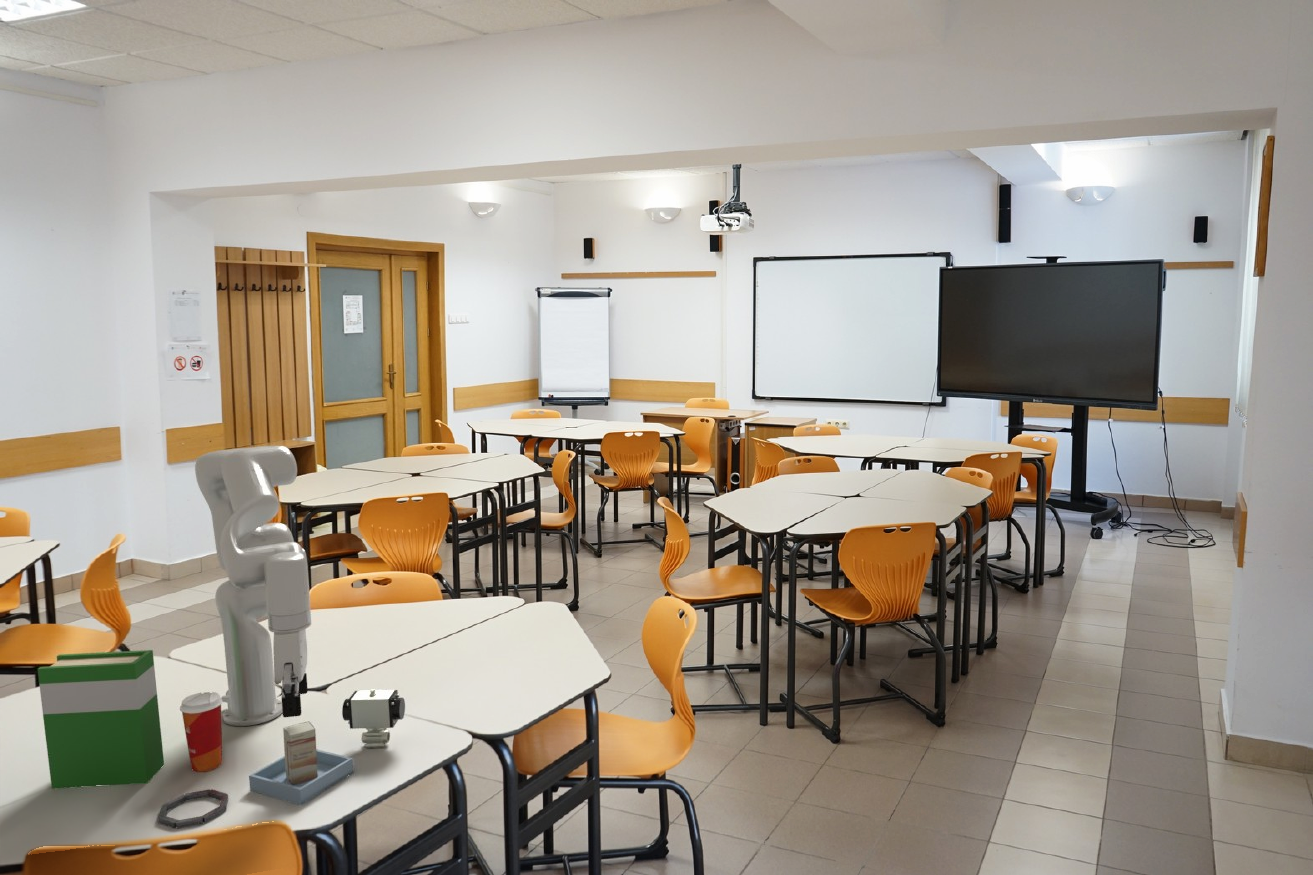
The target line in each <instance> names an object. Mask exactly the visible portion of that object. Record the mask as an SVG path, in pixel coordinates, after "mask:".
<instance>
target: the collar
mask: <svg viewBox="0 0 1313 875" xmlns="http://www.w3.org/2000/svg"><path fill="white" fill-rule="evenodd" d="M204 798H211V799H214V800H218V801H219V802H220V803H219V806H217V807H215V808H213V809H211V810H210V811H208V812H206V813H205V814H203V815H201V816H199V815H198V816H194V817H189V818H182V819H176V818H173V817H170V816H167V815H168V813H169V811H170V810H172V809H174V808H176V807H177V806H179V805H181V804H183V803H185V802H189V801H194V800H199V799H204ZM228 803H229V794H228V793H226V792H222V791H220V790H217V789H210V788H209V789H203V790H197V791H192V792H191V791H190V792H186V793H183V794H180V795H179V796H177V797H175V798H172V799H171V800H170V801H168V802H166V803H164V804H162V805H161V807H160V811H159V814H158V816H157V821H158V822H157V823H158V824H159V825H164V826H165V827H169V828H173V829H181V828H187V827H192V826H199V825H203V824H206V823H208V822H209V821H212V820H213V819H215V818H217V817H218V816H220V815H222V814H224V813H225V812H226V811H227V808H228Z"/></svg>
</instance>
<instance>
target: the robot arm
mask: <svg viewBox="0 0 1313 875" xmlns="http://www.w3.org/2000/svg"><path fill="white" fill-rule="evenodd" d="M194 464H195V465H194V472H195V478H196V482H197V486H198V488H199V490H200V492H201V494H202V496H203V498H204V500H205V502H206V504H207V505H208V509H209V511H210V512H211V513H210V515H211V520H212V527H213V528H212V529H213V536H214V541H215V542H214V544H215V551H216V556H217V560H218V564H219V566H220V567H221V569H222V570H224V571H225V572H226V575H227V578H228V580H226V581H224V582H223V583H221V584H220V585H219V586H218V587H217V589H216V591H215V604H216V608H217V613H218V616H219V619H220V624H221V629H222V636H223V645H224V657H225V663H226V664H225V665H226V668H225V669H226V679H227V690H226V692H225V695H222V696H221V697H220V698H221V699H222V700H223V702H222V703H227V709H226V710H225V711H224V712H223V714H222V718H223V719H222V720H223V722H224V723H225V724H227V725H230V726H235V727H236V726H237V727H243V726H244V727H248V726H255V725H258V724H264V723H266V722H268V721H271V720H273V719H276V718H277V717H279V716H280V715H282V717H283V718H292V717H300V716H302V703H301V702H302V700H301V695H305V694H308V691H309V690H308V676H307V675H308V674H307V673H306V670H307V665H308V644H307V643H308V641H307V640H308V639H307V628H309V627H311V626H312V614H311V612H312V611H311V600H310V598H311V596H310V584H309V583H310V582H309V580H310V579H309V570H308V569H309V567H308V558H307V552H306V550H305V549H304V548H303V547H302V546H301V545H300V544H299V543H298V542H296V541H295V540H294V537H293V533H292V532H291V530H290V528H289V527H288V526H287V525H286V524H285V523H282V522H270V521H272V520H273V518H275V516H277V514H278V513H279V510H280V502H279V499H278V495H277V494H276V491H275V487H279V486H288V485H291V484H294V482H295V481H296V479H297V475H298V465H297V461H296V458H295V456H294V454H293V453H292V451H291V450H290V449H289V448H288V447H286V446H285V445H264V446H263V445H262V446H261V445H260V446H253V447H252V446H251V447H242V448H232V449H231V448H230V449H223V450H221V449H220V450H216V451H215V450H214V451H210V452H206V453H204V454H202V455H200V456H199V457H198V458H197V459H196V460H195V463H194ZM265 617H267V623H268V624H267V625H268V627H267V628H268V630H269V631H270V632H271V633H273V648H272V639H271V634H270V633H269V631H268V630H267V628H265V627H264V626H263V625H262V624H261V623H259V622H258V621H257V620H258V619H262V618H265ZM280 684H281V686H282V687H281V700H280V699H277V697H276V696H277V695H276V694H277V693H276V685H280Z"/></svg>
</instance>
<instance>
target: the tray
mask: <svg viewBox="0 0 1313 875" xmlns="http://www.w3.org/2000/svg"><path fill="white" fill-rule="evenodd" d="M316 752H317V773H318V777H317V778H315V779H312V780H309V781H305V782H302V783H298V784H295V785H292V784H291V783H290V782H289V781H288V779H287V778H286V770H285V755H284V756H282V757H280V758H278V759H277V760H275V761H273V762H271V763H269V764H267V765H265V766H264V767H261V768H260V769H258V770H256V771H255V772H252V773H251V774H249V775H248V779H249V790H250V792H254V793H258V794H262V795H264V796H269V797H272V798H274V799H279V800H281V801H285V802H289V803H292V804H296V805H300V806H302V805H304V804H305V803H308V802H309V801H310V800H312V799H314V798H316V797H317V796H318V795H321V794H322V793H323V792H326V791H327V790H329V789H330V788H332V787H334V786H335V785H336V784H338V783H340V782H341V781H343V780H345V779H346V778H348V777H349V776H348V775H350V776H351V775H352V773H353V774H354V773H355V771H354V758H353V757H349V756H345V755H342V754H341V755H340V754H336V753H333V752H330V751H325V750H322V749H318V748H316ZM347 776H348V777H347Z"/></svg>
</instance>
